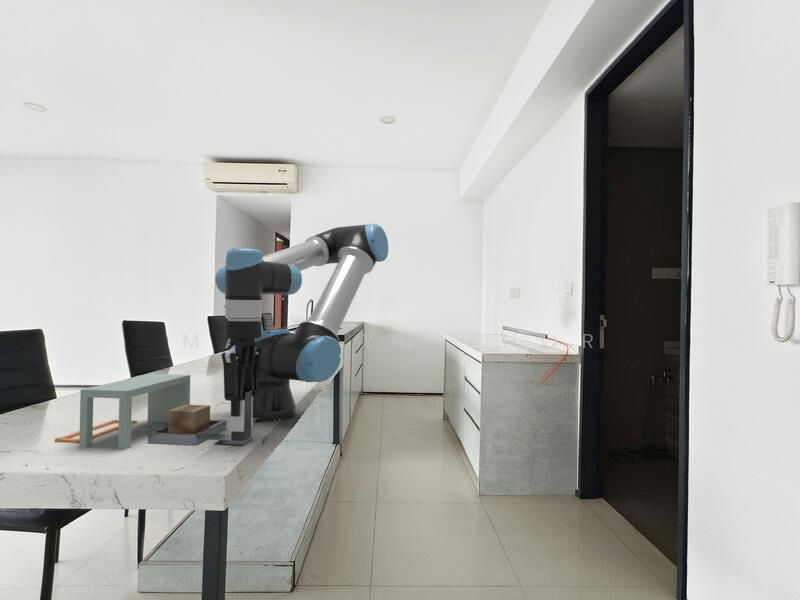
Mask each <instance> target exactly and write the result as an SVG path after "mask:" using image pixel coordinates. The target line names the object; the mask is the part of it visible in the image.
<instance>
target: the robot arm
mask: <svg viewBox="0 0 800 600" xmlns="http://www.w3.org/2000/svg"><path fill="white" fill-rule="evenodd" d="M388 255H389V241H388V237H387V234H386V232H385V230H384V228H383V227H382V226H381V225H379V224H377V223H366V224H358V225H349V226H339V227H333V228H330V229H328V230H326V231H323V232H320V233H318V234H317V233H316V234H315V235H312V236H309V237H307V239H305V241H304V242H302V243H299V244H296V245H293V246H290V247H287V248H284V249H281V250H278V251H277V250H276V251H274V252H271V253H268V254H266V255H263V252H262V251H261V250H259V249H256V248H245V247H244V248H243V247H237V248H230V249H229V250H228V251H227V252H226V256H225V257H226V258H225V266H222V267H220V268H219V269H218V270H217V272H216V274H215V276H214V277H215V279H214V280H215V281H214V282H215V285H216V288H217V290H219V292H221V293H222V294H224V295H225V303H224V306H223V307H224V308H225V309H224V310H225V311H224V314H225V315H224V318H226V319H227V320H226V321H225V322H224V338H226V339H229V340H230V342H229V343H230V344H229V347H228V348H229V349H228V351H227V352H222V353H221V360H222V363H223V364H222V365H223V390H224V391H223V393H224V395H223V396H224V400H225V401H230V427H229V429H230V430H229V431H230V432H231V431H236V432H243V431H244V411H245V400H242V398H243V390H252V413H251V428H252V427H253V423H266V422H265V421H270V422H275V421H274V420H278V421H280V420H279V419H283V420H287V419H290V418H292V417H294V416H295V415H296V411H297V408H296V407H297V406H296V401H295V400H294V397H293V393H292V390H291V386H290V380H291V381H300V382H305V383H322V382H325V381H328V380H329V379H330V378H332V376H333V375H334V374H336V372H337V370H338V368H339V366H340V363H341V360H342V358H341V356H340V355H342V350H341V349H342V347H341V345H340V338H339V336H338V332H339V330H340V328H341V326H342V324H343V322H344V320H345V317H346V316H347V313H348V311H349V309H350V307H351V305H352V303H353V300H354V298H355V296H356V293H357V292H358V289H359V288H360V285H361V283H362V281H363V279H364V277H365V275H366V274H369V273H371V272H372V271H373V269H374V268H375V265H376V263H377V262H379V263H382V262H384V261H385V260H386V259H387V258H388ZM329 264H330V265H331V264H336V266H335V268H334V271H333V272H332V274H331V276H330V278H329V280H328V282H327V284H326V285H325V287H324V289H323V291H322V293H321V295H320V297H319V299H318V301H317V303H316V304H315V307H314V308H313V310H312V312H311V313H310V316H309V318H308V320H306V321H302V322H300V323H299V325H298V326H297V328H296V330H295V332H294V334H292V333H291V331H290V329H273V330H262V322H261V321H260V319H262V317H263V298H262V297H263V295H281V296H287V295H290V296H291V295H294V294H296V293H297V292H298V291H299V290H300V289H301V287H302V284H303V275H302V271H304V270H306V269H309V268H312V267H322V266H325V265H329ZM253 419H255V420H253Z"/></svg>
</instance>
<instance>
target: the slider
mask: <svg viewBox="0 0 800 600" xmlns="http://www.w3.org/2000/svg"><path fill="white" fill-rule="evenodd" d="M242 400H245V411H244V431H243V432H236V431H230V432H231V433H229V434H227V433H226V434H225V433H224V434H223V433H222V432H225V431H226V430H228V429H227V422H228V421H227V419H226V420H225V419H210V427H208V428H206V429H204V430H202V431H200V432H198V433H196V434H182V433H168V424H167V425H164V426H162V427H159V428H158V429H155V430H152V431H150V432H148V434H147V444H158V445H159V444H161V445H162V444H163V445H180V446H199V445H200V444H203V443H204V442H206V441H209V440H210V441H216V442H214V444H215V445H216V444H218V445H221V444H222V445H237V446H238V445H239V446H243V445H245V444H248V443H249V442H251V440H253V435H252V427H251V413H252V390H243V398H242Z"/></svg>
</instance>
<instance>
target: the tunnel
mask: <svg viewBox="0 0 800 600" xmlns="http://www.w3.org/2000/svg"><path fill="white" fill-rule="evenodd" d="M145 394H147V423H156V424H157V423H158V424H159V423H160V424H168V411H169V410H172V409H175V408H178V407H180V406H183V405H191V374H171V373H170V374H168V373H165V374H164V373H152V374H151V373H150V374H145V375H142V376H141V375H140V376H136V377H133V378H127V379H122V380H119V381H113V382H108V383H103V384H100V385H96V386H90V387H86V388H82V389H80V397H79V402H80V403H79V404H80V405H79V431H80V435H79V438H78V439H79V443H78V447H79V449H80V448H84V449H87V448H89V447H90V448H91V447H92V446H93V439H92V435H93V432H94V430H93V427H94V398H99V399H102V398H103V399H118V402H119V403H118V420H119V423H118V426H119V430H118V435H117V436H118V439H117V441H118V443H117V449H118V451H120V450H121V451H122V450H123V451H126V450H128V449H130V448H131V447H132V425H131V420H132V414H133V413H132V410H133V409H132V406H133V405H132V404H133V398H134V397H137V396H141V395H145Z"/></svg>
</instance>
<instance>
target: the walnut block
mask: <svg viewBox="0 0 800 600" xmlns="http://www.w3.org/2000/svg"><path fill="white" fill-rule="evenodd" d="M210 420H211V405H205V404H203V405H202V404H190V405H183V406H180V407H178V408H175V409H172V410H169V411H168V423H167V425H168V433H182V434H196V433H198V432H200V431H202V430H204V429H206V428H208V427H210Z"/></svg>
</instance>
